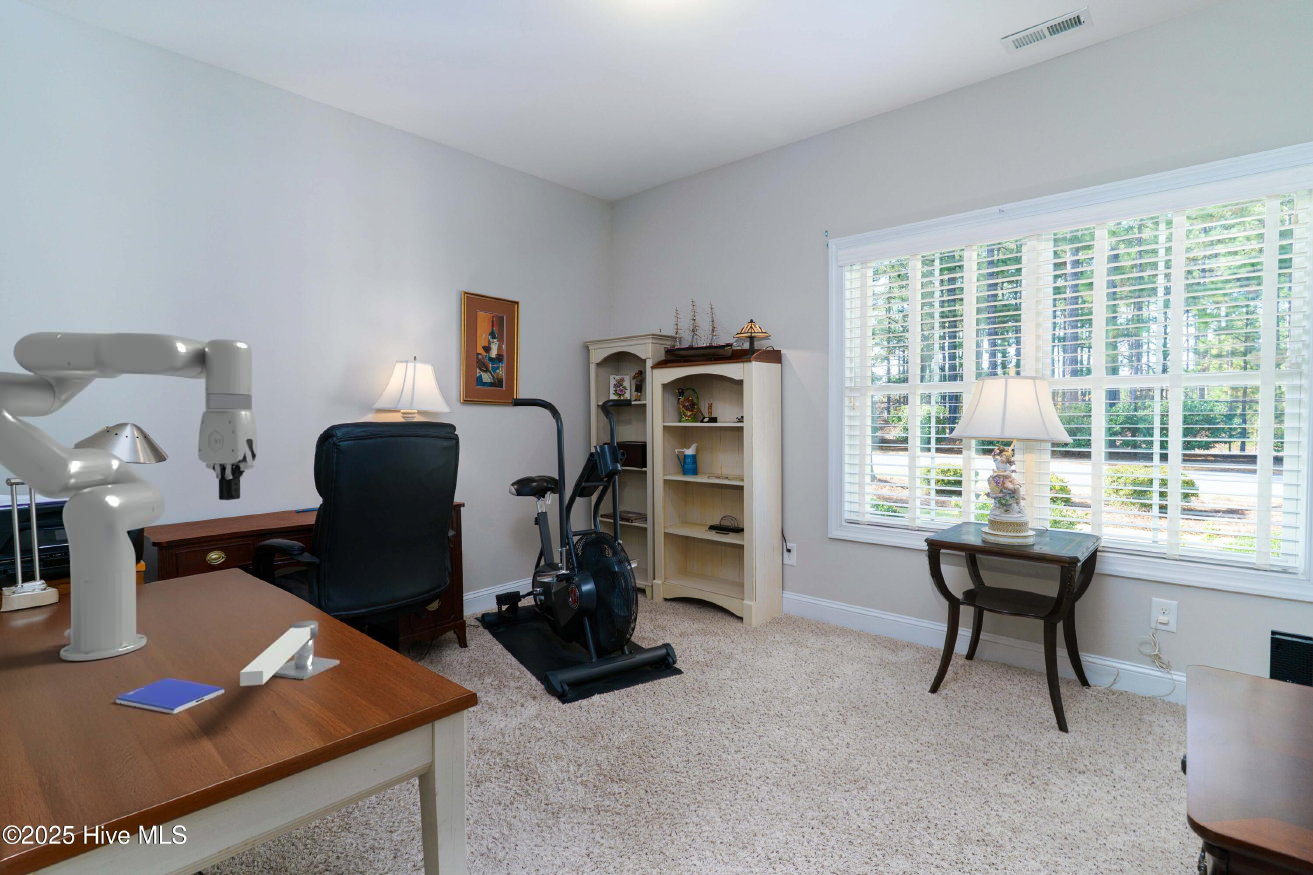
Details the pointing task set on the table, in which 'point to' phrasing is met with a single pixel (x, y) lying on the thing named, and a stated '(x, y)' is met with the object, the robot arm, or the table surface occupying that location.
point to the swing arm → (278, 653)
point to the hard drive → (169, 695)
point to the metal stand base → (305, 663)
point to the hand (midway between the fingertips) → (229, 499)
